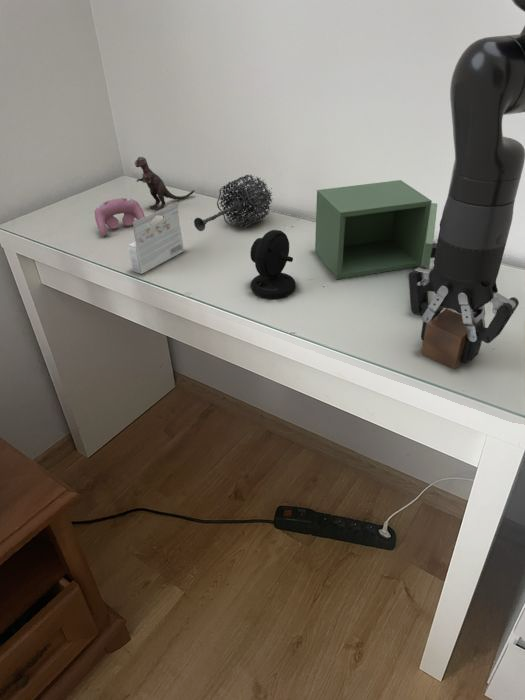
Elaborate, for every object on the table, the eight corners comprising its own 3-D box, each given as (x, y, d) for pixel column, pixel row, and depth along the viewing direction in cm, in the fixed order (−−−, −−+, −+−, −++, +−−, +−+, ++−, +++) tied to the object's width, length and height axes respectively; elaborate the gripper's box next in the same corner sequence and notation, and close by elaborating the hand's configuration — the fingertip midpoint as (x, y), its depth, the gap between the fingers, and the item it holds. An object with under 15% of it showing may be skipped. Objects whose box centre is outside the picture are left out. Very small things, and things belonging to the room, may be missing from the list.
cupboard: (421, 266, 92) (432, 200, 85) (336, 279, 89) (340, 212, 82) (393, 241, 101) (400, 179, 94) (314, 252, 98) (316, 189, 91)
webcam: (268, 273, 92) (266, 218, 86) (304, 284, 88) (305, 228, 82) (241, 292, 87) (237, 235, 81) (278, 304, 83) (278, 246, 77)
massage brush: (183, 242, 104) (177, 195, 98) (251, 207, 118) (249, 164, 112) (220, 253, 99) (216, 205, 93) (286, 215, 113) (286, 171, 108)
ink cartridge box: (132, 271, 94) (122, 219, 88) (175, 249, 101) (168, 199, 95) (142, 275, 93) (132, 222, 87) (184, 252, 100) (178, 201, 94)
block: (473, 353, 72) (480, 322, 69) (454, 369, 69) (461, 337, 66) (439, 338, 74) (446, 308, 72) (420, 354, 72) (426, 323, 69)
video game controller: (145, 229, 113) (136, 196, 112) (149, 226, 109) (140, 192, 108) (99, 238, 110) (89, 204, 108) (101, 236, 106) (91, 201, 104)
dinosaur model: (130, 156, 110) (184, 145, 120) (135, 211, 117) (186, 196, 126) (142, 161, 108) (196, 148, 118) (147, 216, 115) (197, 200, 124)
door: (464, 271, 90) (478, 206, 83) (464, 320, 78) (481, 248, 71) (420, 267, 92) (431, 202, 85) (414, 313, 80) (425, 243, 73)
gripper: (548, 240, 59) (511, 361, 69) (434, 209, 68) (416, 321, 78) (519, 263, 55) (484, 387, 65) (402, 226, 64) (386, 342, 74)
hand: (447, 350), depth 71 cm, fingers closed on block, 5 cm apart
